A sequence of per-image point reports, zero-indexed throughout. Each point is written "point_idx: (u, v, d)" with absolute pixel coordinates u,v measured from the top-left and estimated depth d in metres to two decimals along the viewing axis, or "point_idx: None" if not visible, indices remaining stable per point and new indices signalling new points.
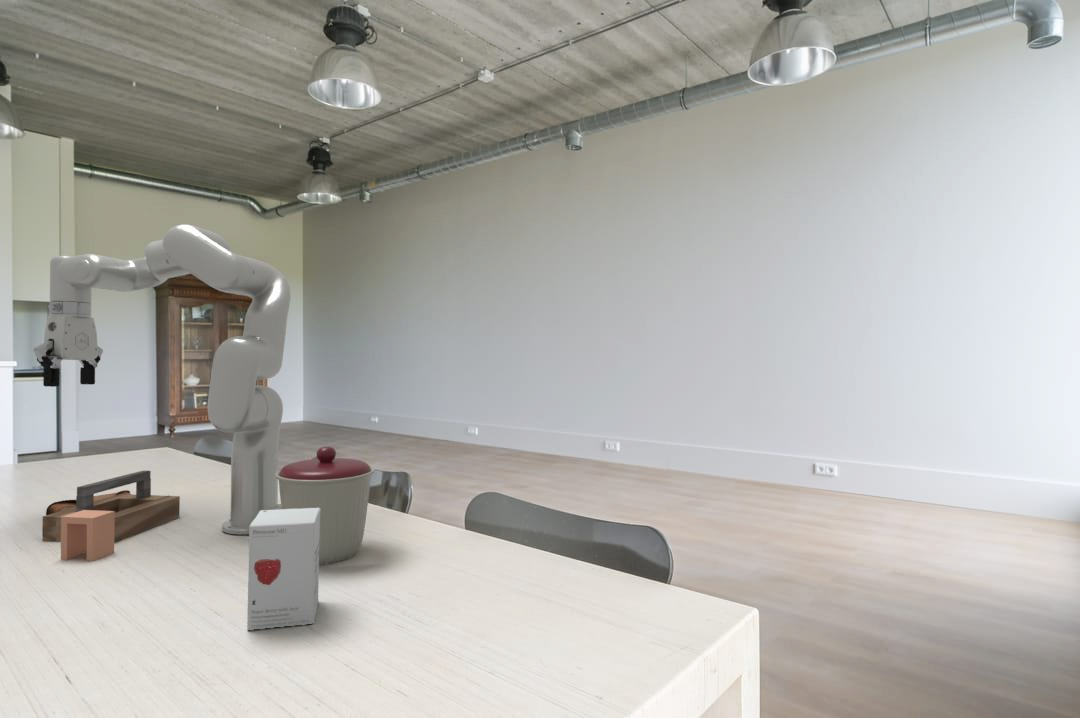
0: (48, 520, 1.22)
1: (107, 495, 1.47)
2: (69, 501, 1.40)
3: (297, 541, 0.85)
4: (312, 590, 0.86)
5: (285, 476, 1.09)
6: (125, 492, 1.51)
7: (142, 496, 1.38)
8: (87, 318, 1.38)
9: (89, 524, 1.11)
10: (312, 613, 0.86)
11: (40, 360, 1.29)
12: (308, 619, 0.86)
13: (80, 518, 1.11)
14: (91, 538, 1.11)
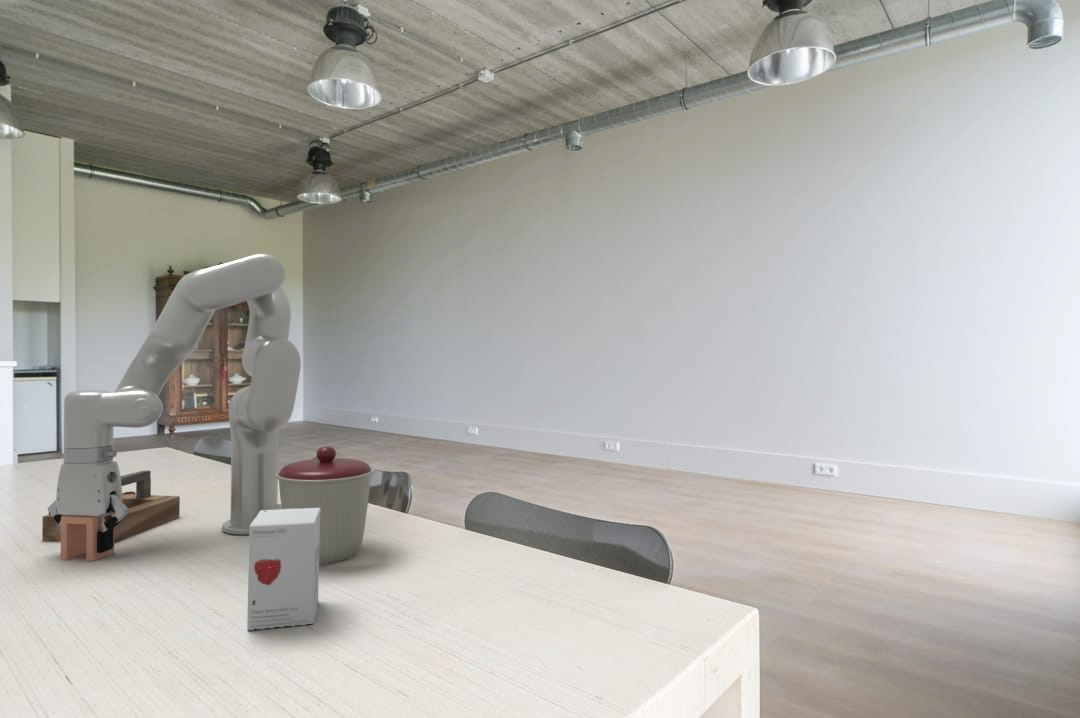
0: (48, 520, 1.22)
1: None
2: None
3: (297, 541, 0.85)
4: (312, 590, 0.86)
5: (285, 476, 1.09)
6: (130, 493, 1.50)
7: (142, 496, 1.38)
8: None
9: (89, 524, 1.11)
10: (312, 613, 0.86)
11: (117, 521, 1.13)
12: (308, 619, 0.86)
13: (80, 518, 1.11)
14: (91, 538, 1.11)
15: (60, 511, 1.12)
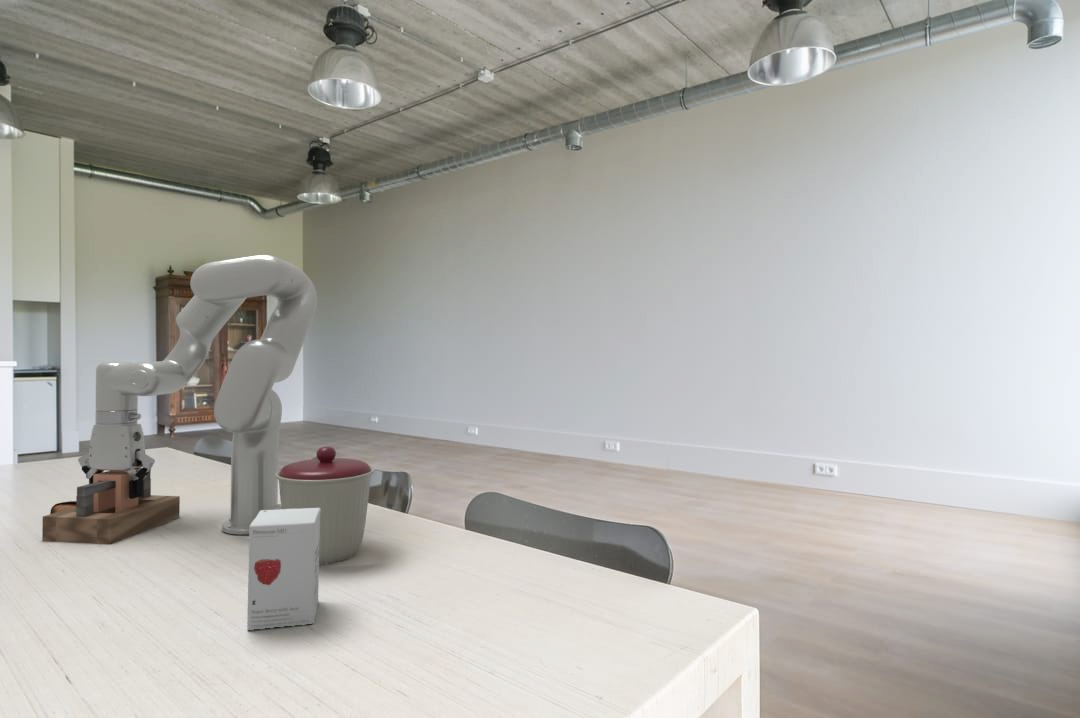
0: (48, 520, 1.22)
1: None
2: (72, 502, 1.39)
3: (297, 541, 0.85)
4: (312, 590, 0.86)
5: (285, 476, 1.09)
6: None
7: (142, 496, 1.38)
8: None
9: (117, 481, 1.28)
10: (312, 613, 0.86)
11: (147, 471, 1.30)
12: (308, 619, 0.86)
13: (110, 476, 1.28)
14: (119, 493, 1.28)
15: (92, 466, 1.29)
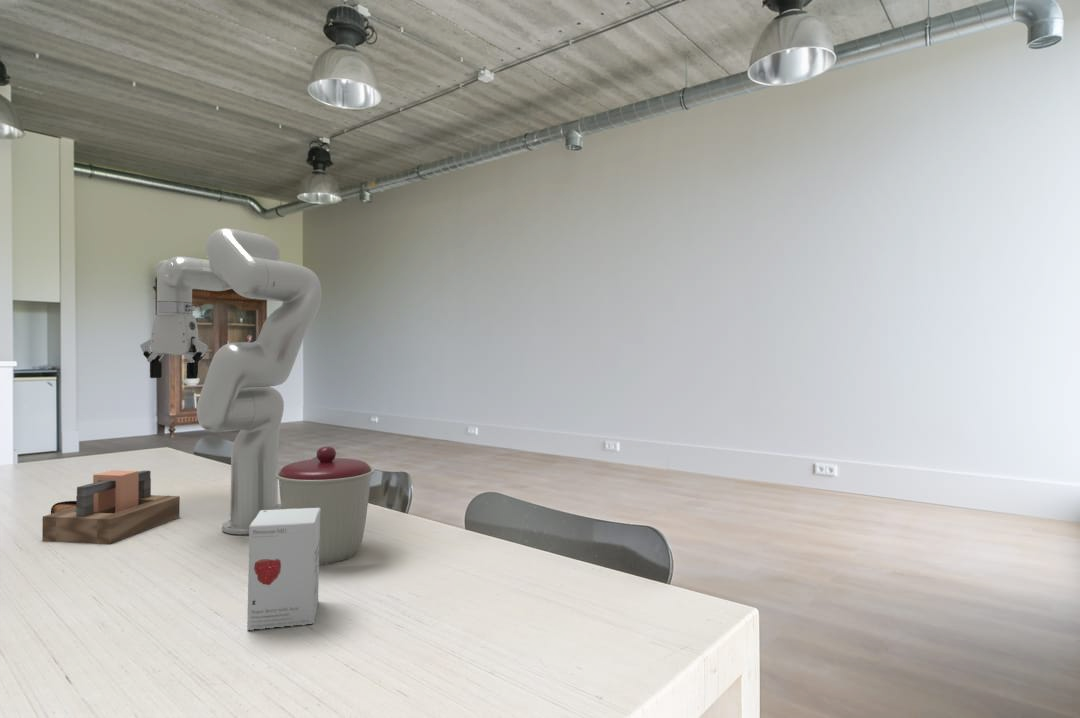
0: (48, 520, 1.22)
1: None
2: (72, 502, 1.39)
3: (297, 541, 0.85)
4: (312, 590, 0.86)
5: (285, 476, 1.09)
6: None
7: (142, 496, 1.38)
8: None
9: (117, 481, 1.28)
10: (312, 613, 0.86)
11: (201, 355, 1.49)
12: (308, 619, 0.86)
13: (110, 476, 1.28)
14: (119, 493, 1.28)
15: (154, 350, 1.48)
